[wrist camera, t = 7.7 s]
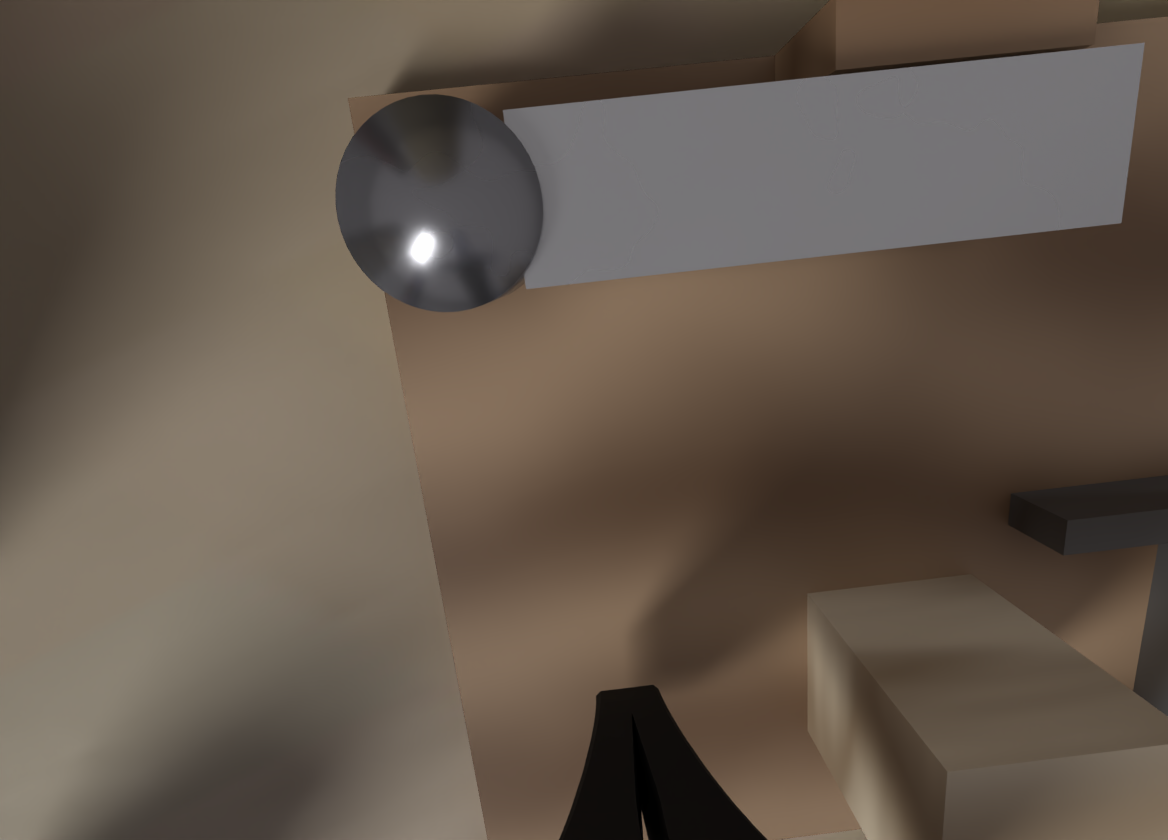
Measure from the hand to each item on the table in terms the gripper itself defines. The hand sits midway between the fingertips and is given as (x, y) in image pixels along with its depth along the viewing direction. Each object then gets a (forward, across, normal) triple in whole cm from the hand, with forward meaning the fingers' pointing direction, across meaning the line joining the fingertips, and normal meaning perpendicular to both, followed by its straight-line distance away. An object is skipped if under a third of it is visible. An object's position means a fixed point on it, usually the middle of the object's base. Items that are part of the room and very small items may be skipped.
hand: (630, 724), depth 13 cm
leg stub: (+1, -7, 0) cm, 7 cm away
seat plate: (+2, -5, -4) cm, 7 cm away
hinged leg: (+1, -2, -11) cm, 11 cm away
